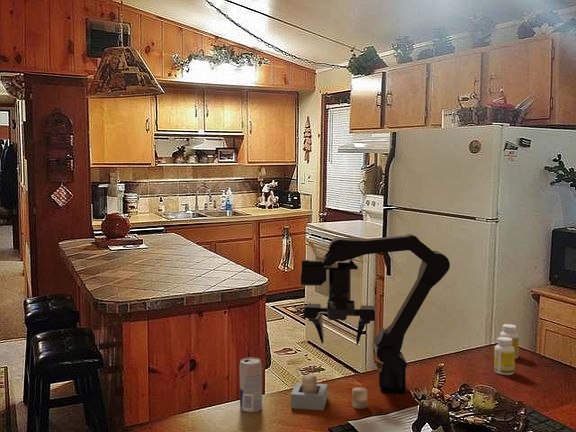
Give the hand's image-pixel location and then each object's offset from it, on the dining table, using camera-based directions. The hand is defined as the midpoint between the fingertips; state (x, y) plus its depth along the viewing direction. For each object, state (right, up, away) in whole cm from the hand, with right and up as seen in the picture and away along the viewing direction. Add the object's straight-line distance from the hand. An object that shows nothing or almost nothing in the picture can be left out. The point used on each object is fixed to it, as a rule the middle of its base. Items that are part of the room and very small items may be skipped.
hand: (339, 343), depth 150 cm
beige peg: (-8, -13, -9) cm, 17 cm away
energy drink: (-23, -13, -12) cm, 29 cm away
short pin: (+4, -13, -11) cm, 17 cm away
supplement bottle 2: (+48, -11, +12) cm, 51 cm away
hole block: (-8, -13, -9) cm, 18 cm away
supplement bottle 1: (+55, -10, +26) cm, 61 cm away
